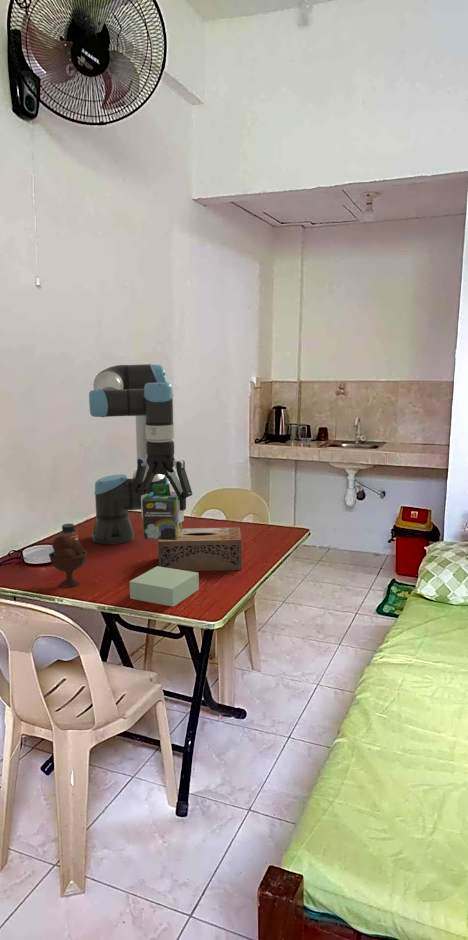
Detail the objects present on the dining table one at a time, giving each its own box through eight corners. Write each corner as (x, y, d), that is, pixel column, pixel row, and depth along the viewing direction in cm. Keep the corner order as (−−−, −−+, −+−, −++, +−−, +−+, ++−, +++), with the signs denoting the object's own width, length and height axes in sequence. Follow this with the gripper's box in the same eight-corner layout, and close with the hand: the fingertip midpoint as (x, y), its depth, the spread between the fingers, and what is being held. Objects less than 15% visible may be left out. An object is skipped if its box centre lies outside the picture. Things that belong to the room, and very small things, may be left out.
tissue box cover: (239, 556, 212) (239, 527, 211) (241, 570, 198) (241, 539, 196) (163, 557, 212) (162, 528, 210) (159, 572, 198) (158, 541, 196)
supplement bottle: (57, 557, 212) (55, 525, 210) (73, 553, 216) (71, 521, 214) (66, 561, 208) (64, 528, 206) (82, 557, 212) (80, 524, 210)
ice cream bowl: (69, 593, 180) (66, 542, 177) (42, 586, 186) (39, 537, 183) (96, 582, 189) (93, 533, 186) (69, 575, 195) (66, 528, 192)
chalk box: (182, 531, 179) (181, 480, 177) (176, 540, 170) (175, 486, 168) (150, 530, 180) (149, 479, 178) (142, 539, 171) (141, 486, 169)
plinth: (130, 598, 175) (129, 581, 175) (157, 582, 188) (157, 566, 187) (173, 606, 169) (172, 588, 168) (198, 589, 182) (198, 572, 181)
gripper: (116, 440, 173) (120, 518, 176) (190, 444, 162) (192, 527, 166) (132, 436, 179) (135, 512, 183) (204, 440, 169) (205, 520, 173)
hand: (162, 519), depth 175 cm, fingers closed on chalk box, 11 cm apart
